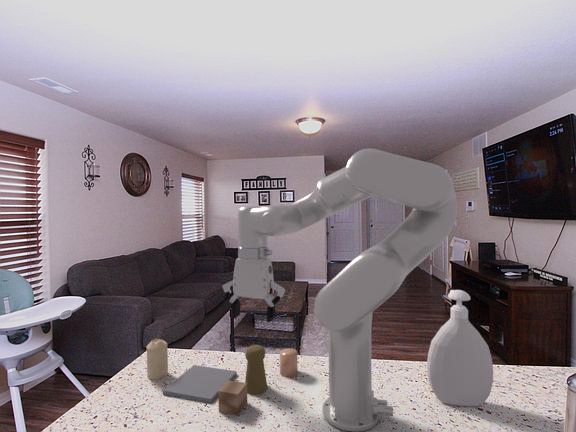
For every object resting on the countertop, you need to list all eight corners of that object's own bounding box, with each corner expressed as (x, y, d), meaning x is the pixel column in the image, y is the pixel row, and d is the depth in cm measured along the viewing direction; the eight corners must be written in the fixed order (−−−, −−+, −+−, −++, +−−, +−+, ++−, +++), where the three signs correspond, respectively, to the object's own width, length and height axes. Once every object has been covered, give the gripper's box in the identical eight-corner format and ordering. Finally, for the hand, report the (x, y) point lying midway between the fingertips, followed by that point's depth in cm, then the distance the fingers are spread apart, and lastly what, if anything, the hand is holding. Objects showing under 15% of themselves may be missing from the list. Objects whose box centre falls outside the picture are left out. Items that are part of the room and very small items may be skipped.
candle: (172, 373, 94) (171, 338, 94) (155, 381, 90) (154, 345, 89) (160, 368, 97) (159, 335, 97) (143, 376, 93) (142, 341, 92)
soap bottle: (484, 393, 82) (484, 286, 81) (499, 413, 74) (499, 294, 73) (423, 388, 84) (422, 284, 84) (430, 407, 76) (430, 292, 76)
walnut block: (247, 403, 79) (247, 383, 79) (238, 416, 74) (237, 394, 74) (228, 400, 81) (228, 380, 81) (218, 412, 76) (218, 391, 76)
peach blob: (299, 369, 95) (299, 349, 95) (294, 378, 90) (294, 357, 90) (283, 367, 96) (282, 347, 96) (277, 376, 92) (277, 355, 92)
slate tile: (236, 374, 93) (236, 371, 93) (211, 403, 79) (211, 399, 79) (194, 368, 97) (193, 365, 97) (162, 394, 84) (162, 390, 83)
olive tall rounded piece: (263, 396, 82) (263, 352, 82) (241, 393, 83) (240, 351, 83) (269, 383, 88) (269, 342, 88) (248, 381, 89) (247, 341, 89)
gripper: (288, 253, 86) (288, 317, 86) (229, 250, 91) (230, 311, 91) (279, 257, 79) (279, 327, 79) (215, 254, 84) (216, 320, 84)
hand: (253, 318), depth 85 cm, fingers open, 9 cm apart
